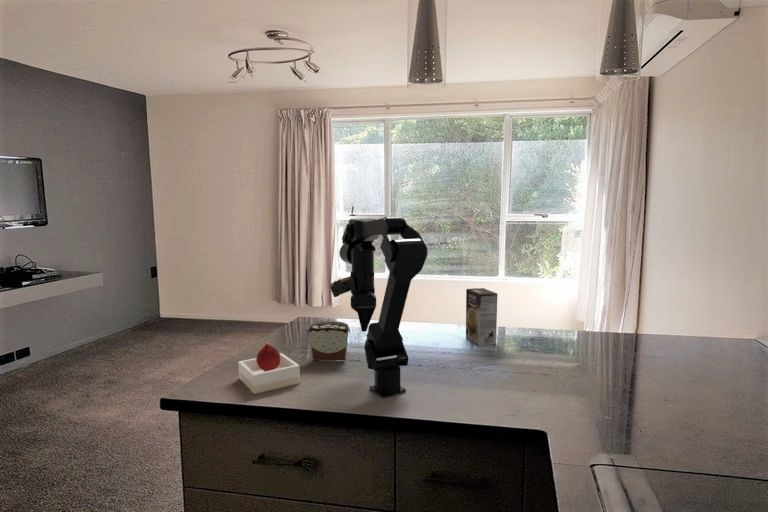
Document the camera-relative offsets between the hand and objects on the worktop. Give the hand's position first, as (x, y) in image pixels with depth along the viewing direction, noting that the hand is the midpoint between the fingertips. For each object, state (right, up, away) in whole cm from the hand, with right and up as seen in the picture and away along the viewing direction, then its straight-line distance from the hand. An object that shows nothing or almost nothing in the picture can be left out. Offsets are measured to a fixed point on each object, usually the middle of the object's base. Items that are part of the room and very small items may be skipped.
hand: (363, 326), depth 127 cm
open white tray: (-24, -13, -5) cm, 27 cm away
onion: (-24, -11, -5) cm, 27 cm away
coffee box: (+36, -9, +26) cm, 45 cm away
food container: (-10, -11, +12) cm, 19 cm away
